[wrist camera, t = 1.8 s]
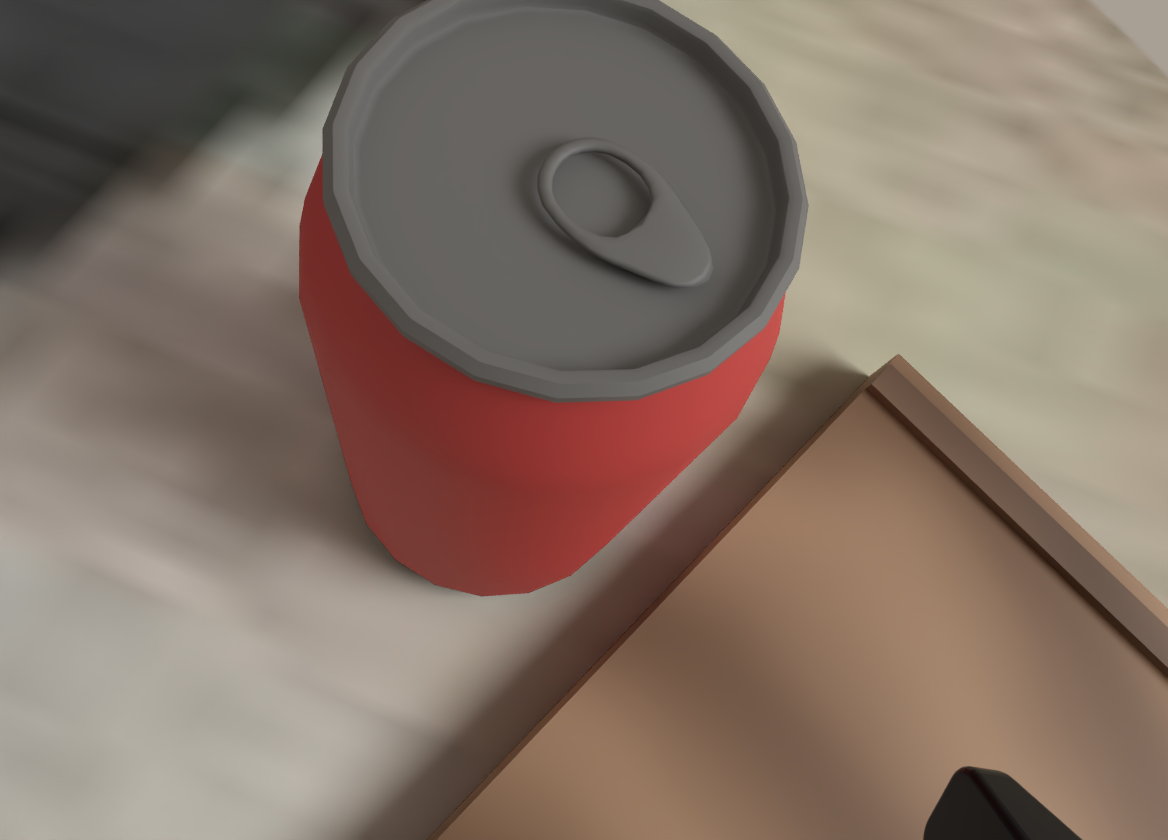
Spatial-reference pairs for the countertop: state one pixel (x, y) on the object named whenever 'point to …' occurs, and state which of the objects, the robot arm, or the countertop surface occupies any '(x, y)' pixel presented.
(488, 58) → the beer can
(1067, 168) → the countertop surface
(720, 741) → the walnut board
